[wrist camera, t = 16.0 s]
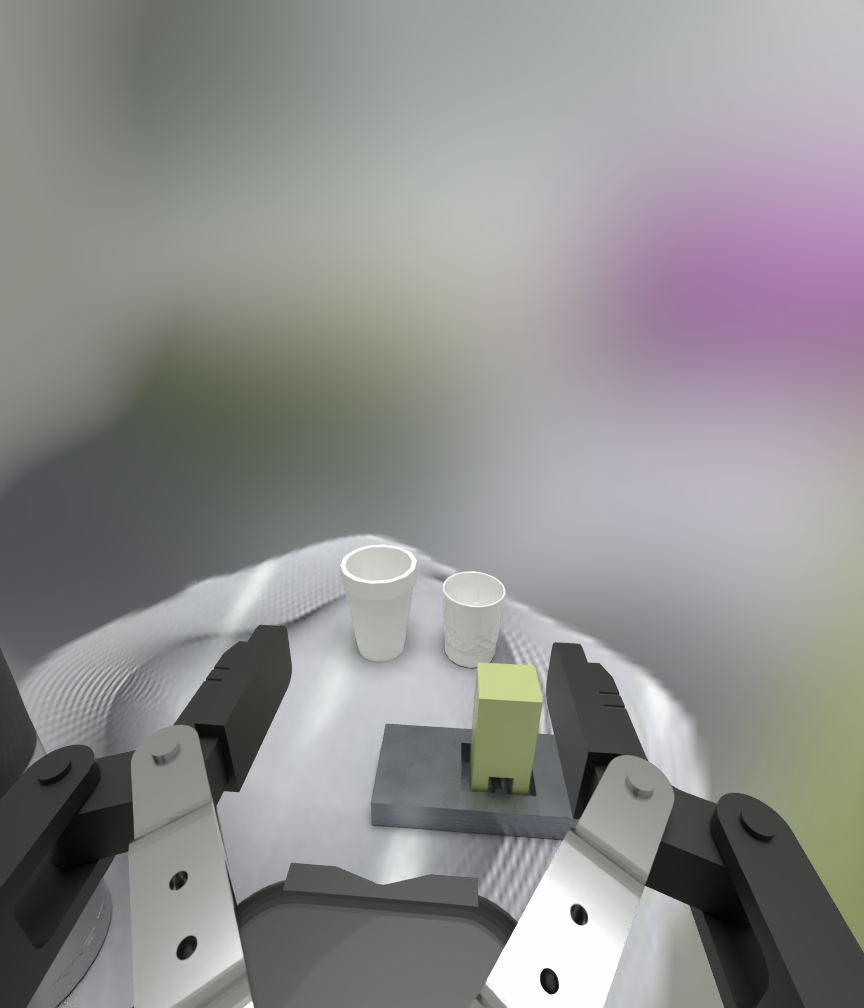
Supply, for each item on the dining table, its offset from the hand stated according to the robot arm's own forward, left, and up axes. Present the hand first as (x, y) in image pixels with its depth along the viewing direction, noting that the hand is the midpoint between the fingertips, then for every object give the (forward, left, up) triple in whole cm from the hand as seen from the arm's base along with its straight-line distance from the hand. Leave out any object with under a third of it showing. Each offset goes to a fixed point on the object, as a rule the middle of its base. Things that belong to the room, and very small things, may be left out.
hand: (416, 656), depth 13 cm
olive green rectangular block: (+6, +18, -32) cm, 37 cm away
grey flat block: (+6, +18, -32) cm, 37 cm away
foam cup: (-8, +37, -32) cm, 50 cm away
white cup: (+4, +37, -32) cm, 49 cm away
